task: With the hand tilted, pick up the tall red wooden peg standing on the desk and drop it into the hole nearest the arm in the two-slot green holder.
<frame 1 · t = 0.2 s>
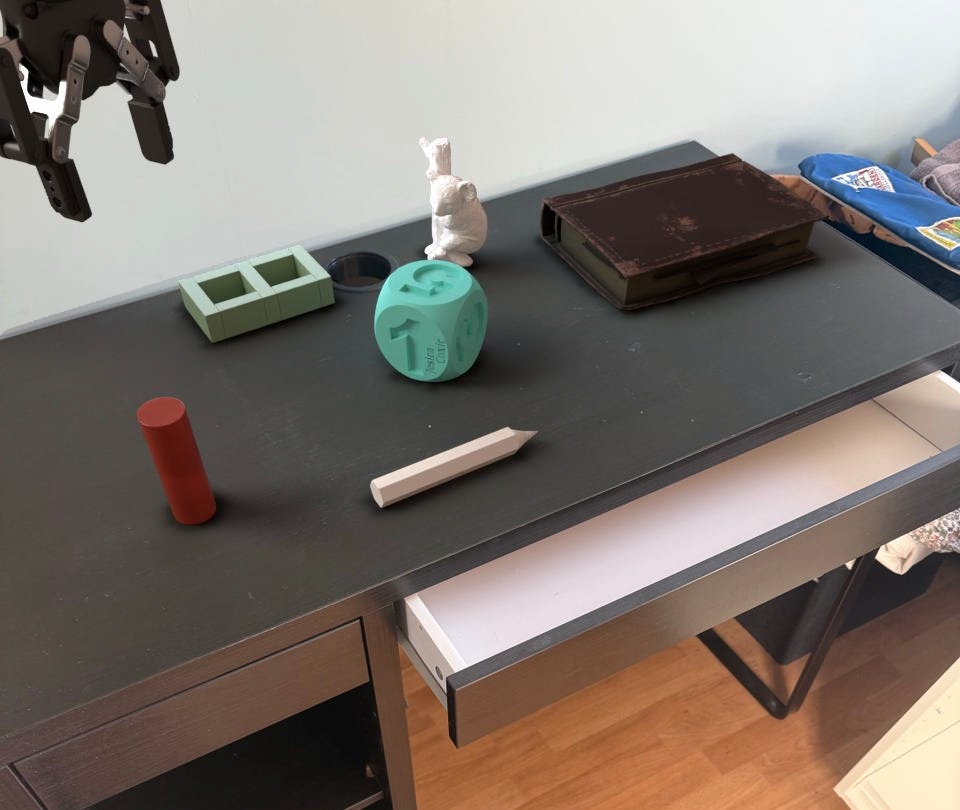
hand: (119, 188, 60), 23 cm above the table, tool pointing down, fingers open, 8 cm apart
two-slot green holder: (260, 305, 93), on the table
koala figurine: (451, 262, 99), on the table
diary: (676, 252, 100), on the table
peg: (194, 510, 75), on the table
unpainted wooden pencil: (460, 472, 78), on the table
decorative dice: (433, 360, 88), on the table
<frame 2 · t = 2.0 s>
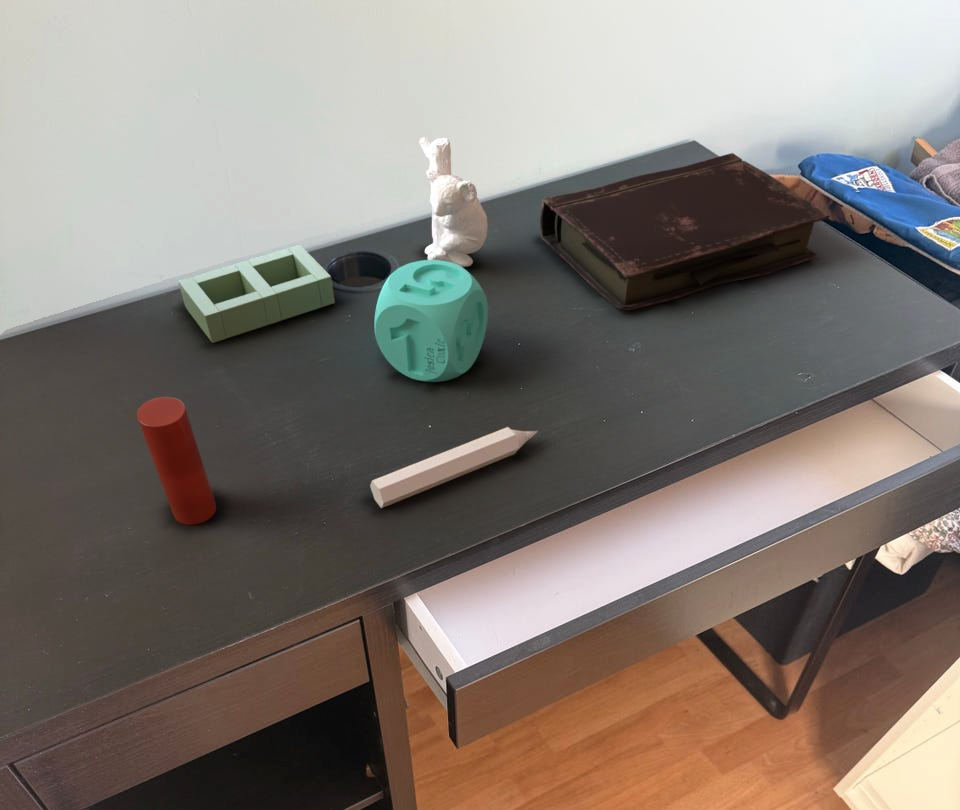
nothing on the table moved.
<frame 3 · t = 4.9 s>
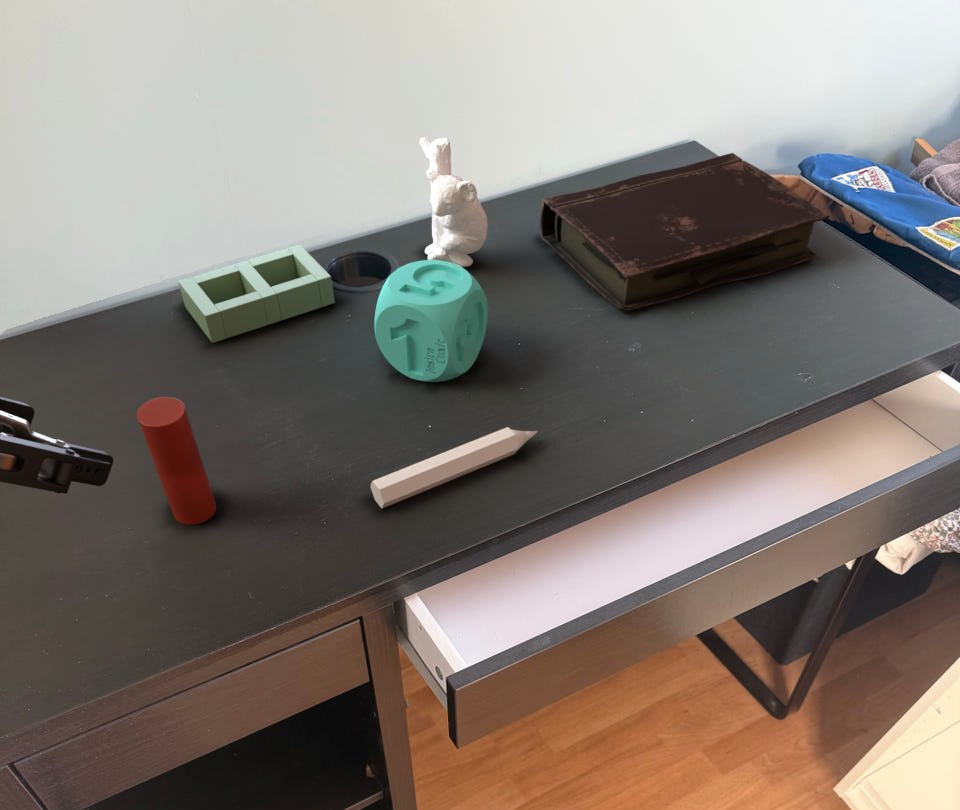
hand: (66, 444, 61), 12 cm above the table, tool tilted 45°, fingers open, 8 cm apart
nothing on the table moved.
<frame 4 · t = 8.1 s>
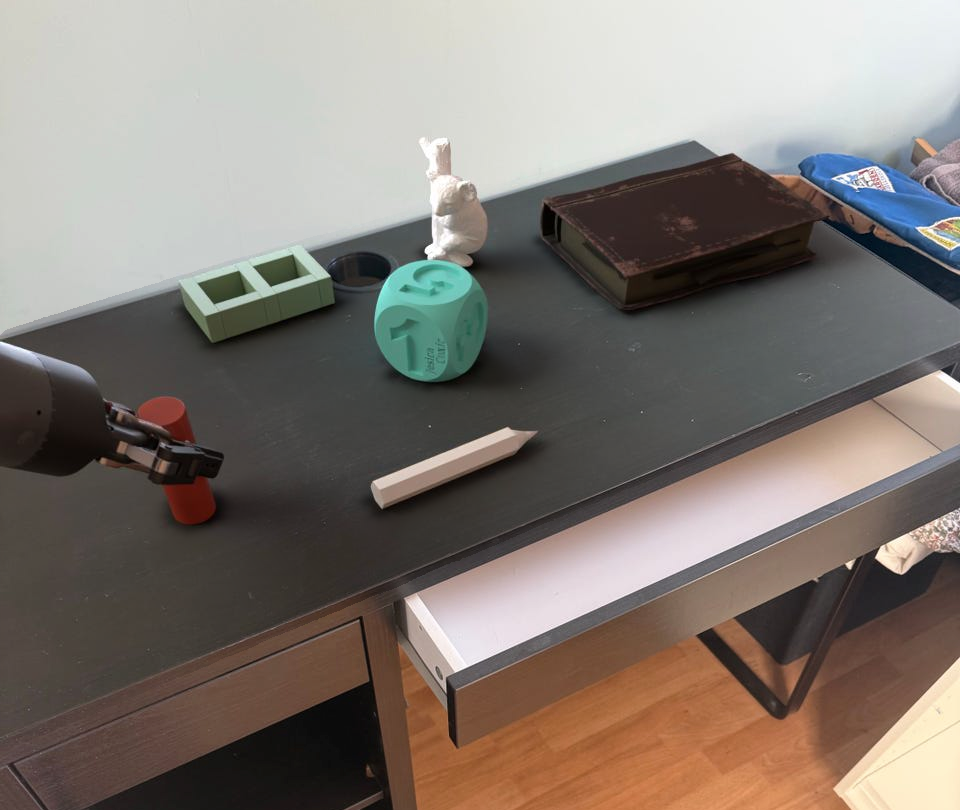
hand: (198, 454, 72), 5 cm above the table, tool tilted 45°, fingers closed on peg, 3 cm apart
peg: (194, 509, 75), on the table, touching gripper
everything else where it was.
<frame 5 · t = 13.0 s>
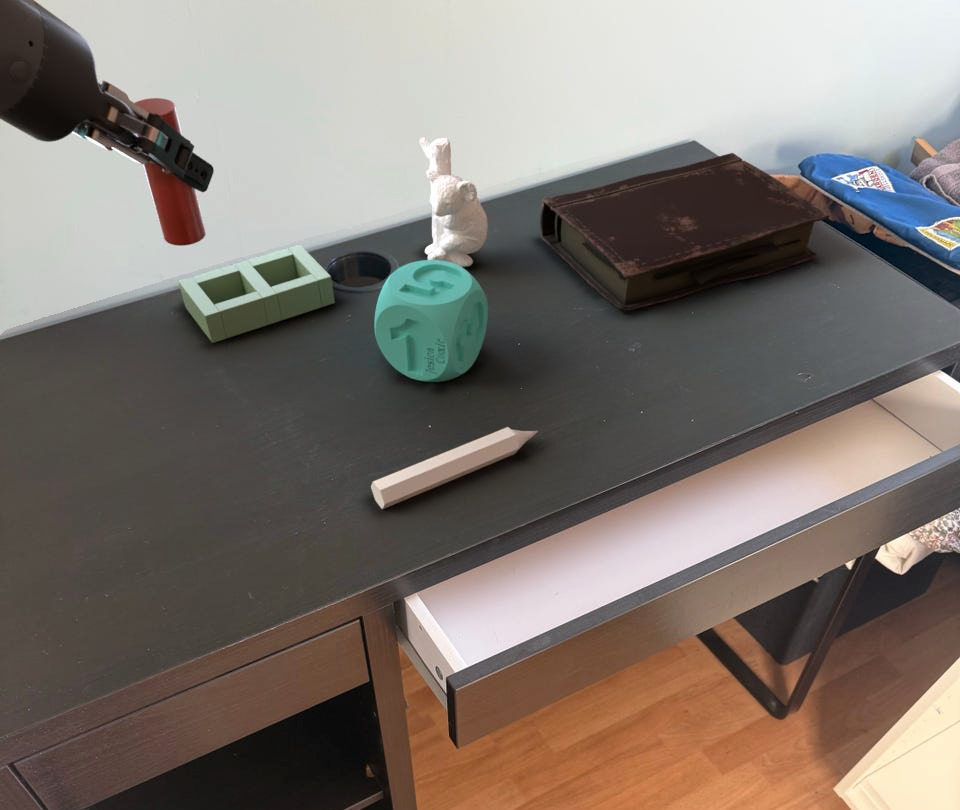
hand: (189, 171, 74), 18 cm above the table, tool tilted 45°, fingers closed on peg, 3 cm apart
peg: (184, 235, 76), point 13 cm above the table, touching gripper
everything else where it was.
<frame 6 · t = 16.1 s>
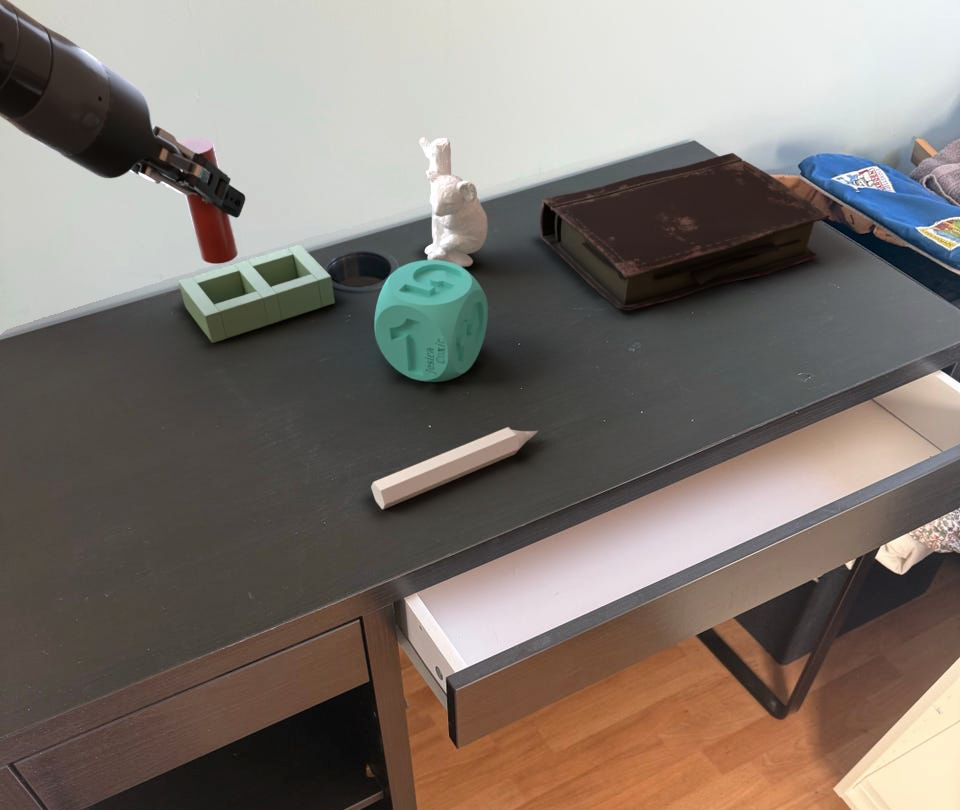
hand: (223, 200, 85), 11 cm above the table, tool tilted 45°, fingers closed on peg, 3 cm apart
peg: (219, 254, 87), point 6 cm above the table, touching gripper
everything else where it was.
when the fingers open (4 cm above the table, at t = 18.3 s): peg stays where it is, resting in two-slot green holder.
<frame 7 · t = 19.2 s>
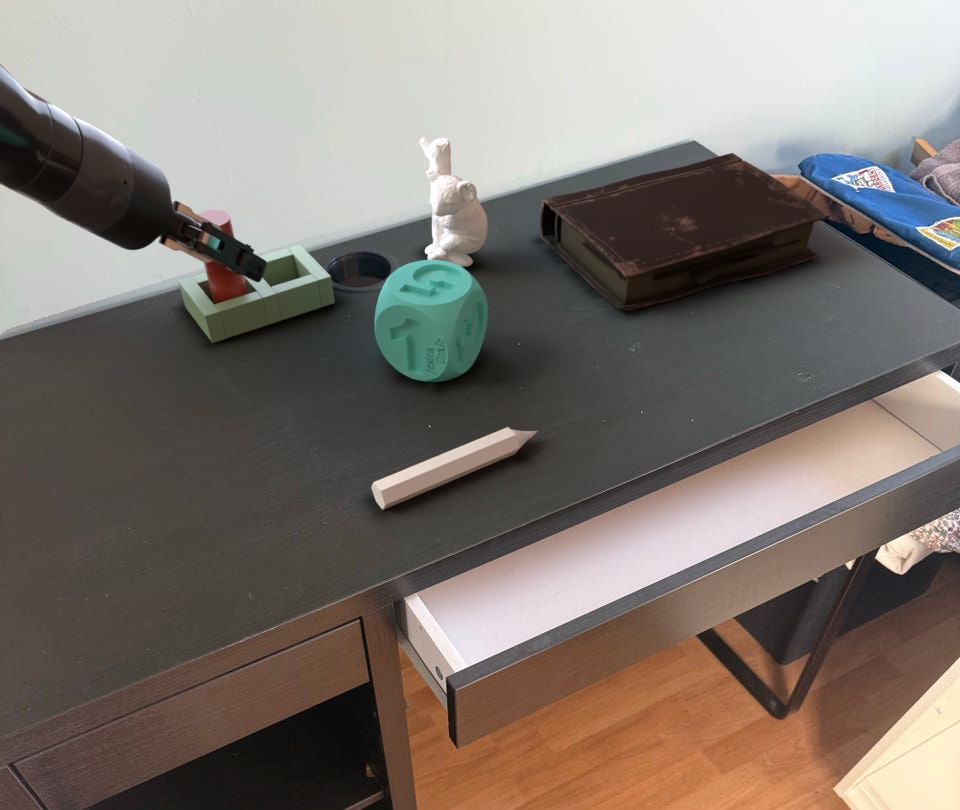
hand: (230, 257, 89), 5 cm above the table, tool tilted 45°, fingers open, 8 cm apart
peg: (234, 314, 92), resting in two-slot green holder
everything else where it was.
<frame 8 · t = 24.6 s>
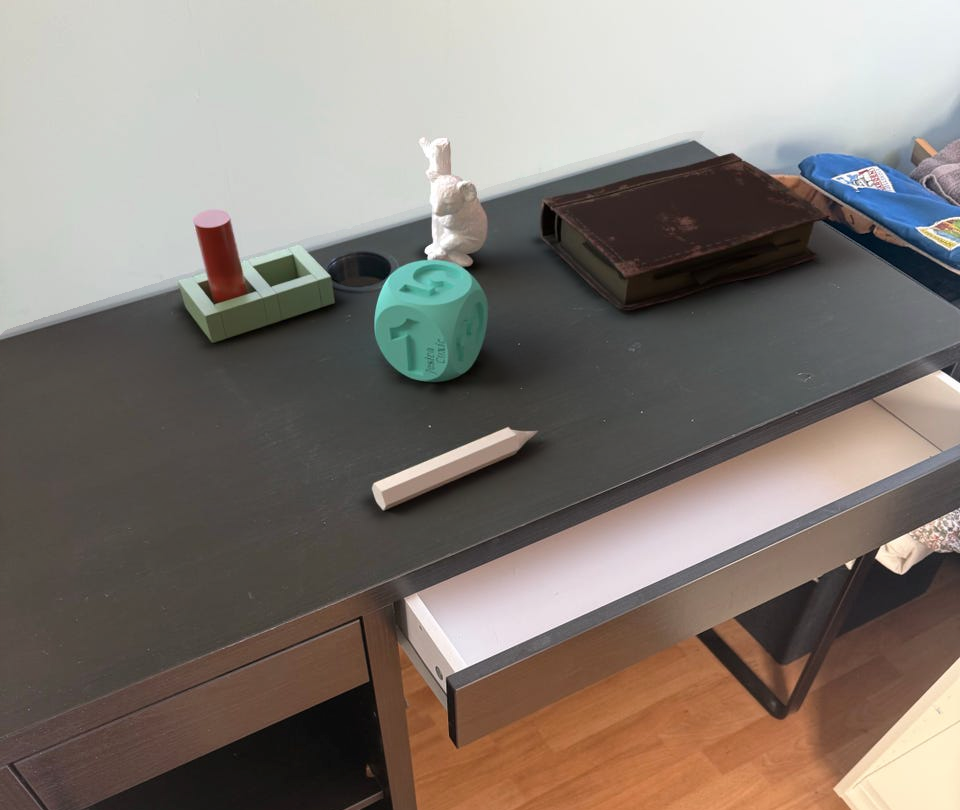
nothing on the table moved.
at the end: peg 0.2 cm from the target spot in the two-slot green holder, point 0.0 cm above the two-slot green holder's base; peg tilted 0°; the gripper is holding nothing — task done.
